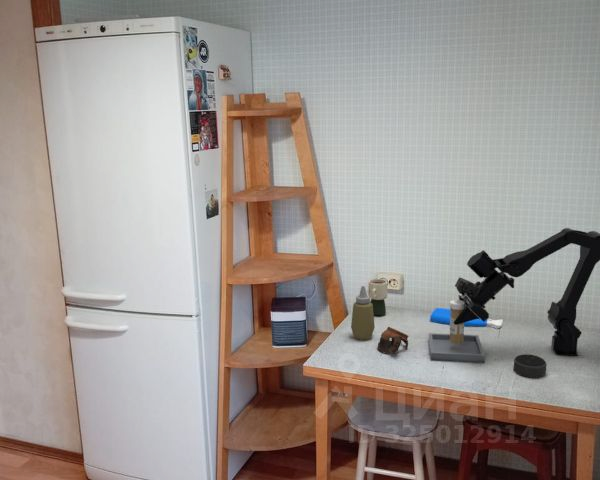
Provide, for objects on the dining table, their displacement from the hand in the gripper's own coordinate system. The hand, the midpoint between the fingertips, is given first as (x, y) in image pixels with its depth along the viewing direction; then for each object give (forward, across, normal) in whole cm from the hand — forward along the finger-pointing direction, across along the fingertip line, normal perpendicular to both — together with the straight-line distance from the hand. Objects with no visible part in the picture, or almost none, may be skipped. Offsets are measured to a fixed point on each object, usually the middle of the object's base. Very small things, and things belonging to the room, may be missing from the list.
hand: (452, 321), depth 185 cm
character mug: (+22, -34, -8) cm, 41 cm away
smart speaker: (-6, +14, +22) cm, 27 cm away
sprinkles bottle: (+4, 0, +6) cm, 7 cm away
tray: (+6, 0, +8) cm, 10 cm away
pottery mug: (+20, -1, -6) cm, 21 cm away
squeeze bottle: (+27, -12, -12) cm, 32 cm away
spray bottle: (0, -26, +15) cm, 30 cm away
